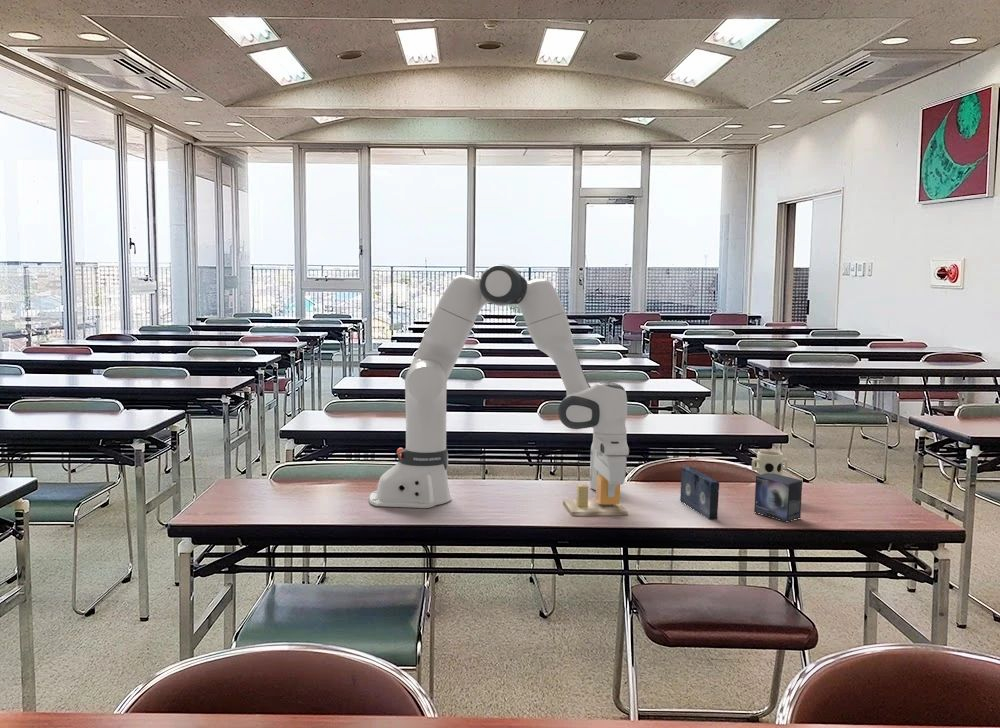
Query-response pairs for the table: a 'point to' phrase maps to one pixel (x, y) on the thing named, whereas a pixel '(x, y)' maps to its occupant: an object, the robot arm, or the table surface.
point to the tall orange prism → (602, 492)
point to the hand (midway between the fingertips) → (607, 493)
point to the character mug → (769, 462)
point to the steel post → (608, 505)
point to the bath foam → (593, 470)
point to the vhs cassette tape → (699, 492)
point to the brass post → (582, 495)
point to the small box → (778, 496)
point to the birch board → (593, 509)
